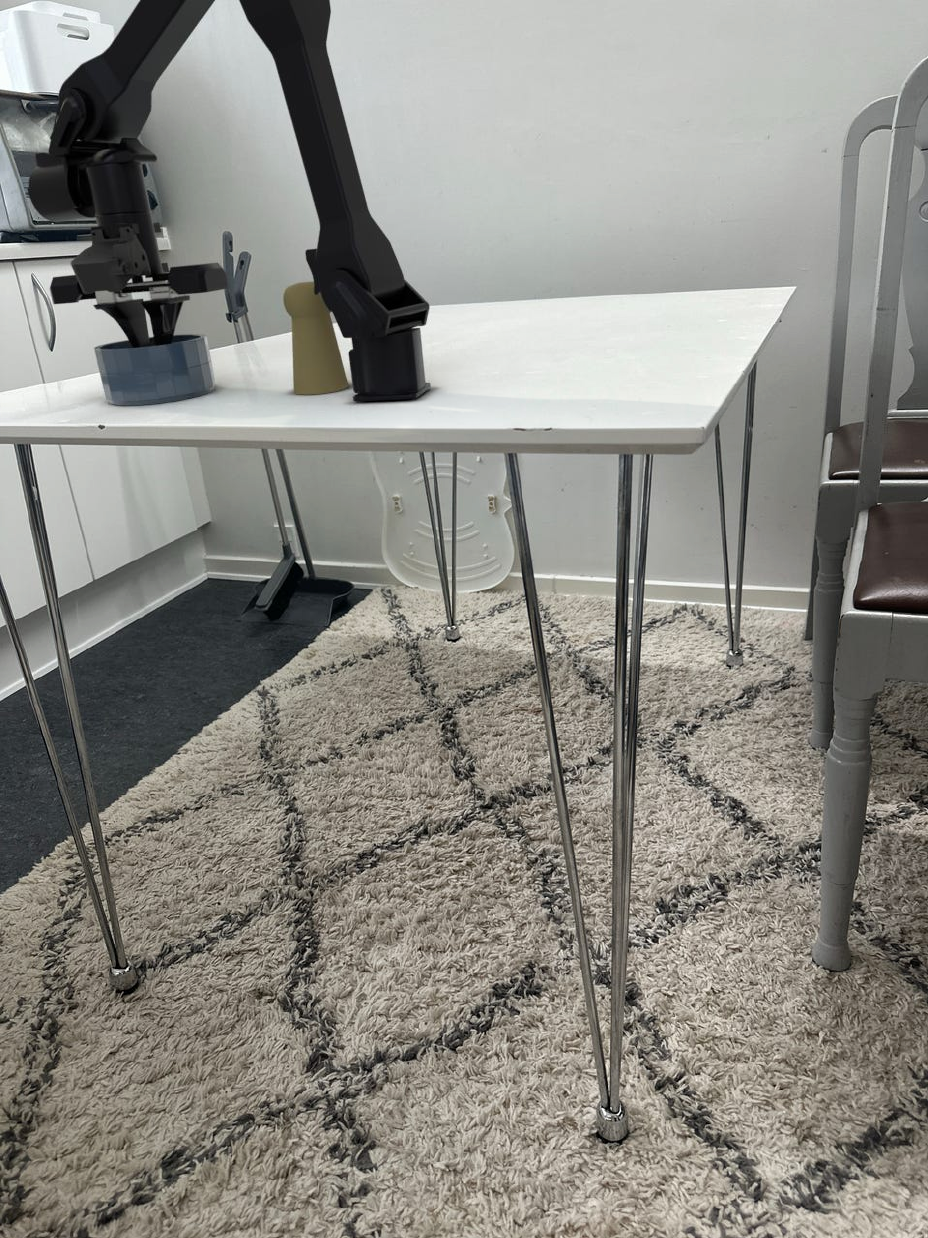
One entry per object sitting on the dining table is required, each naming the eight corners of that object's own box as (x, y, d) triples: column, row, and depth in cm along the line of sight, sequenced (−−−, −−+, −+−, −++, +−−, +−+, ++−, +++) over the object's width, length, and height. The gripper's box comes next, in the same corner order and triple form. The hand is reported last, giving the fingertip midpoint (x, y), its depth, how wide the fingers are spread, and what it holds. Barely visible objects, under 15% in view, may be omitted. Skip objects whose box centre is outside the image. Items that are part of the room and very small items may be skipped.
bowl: (233, 383, 107) (224, 331, 104) (183, 403, 96) (172, 346, 94) (143, 388, 110) (132, 337, 107) (84, 408, 99) (70, 352, 96)
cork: (338, 393, 94) (322, 282, 90) (284, 395, 95) (267, 286, 91) (356, 383, 99) (342, 277, 95) (305, 385, 101) (290, 282, 96)
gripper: (-3, 223, 90) (40, 380, 96) (164, 206, 86) (196, 371, 92) (64, 221, 100) (98, 364, 106) (216, 206, 96) (242, 355, 102)
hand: (155, 364), depth 101 cm, fingers closed
